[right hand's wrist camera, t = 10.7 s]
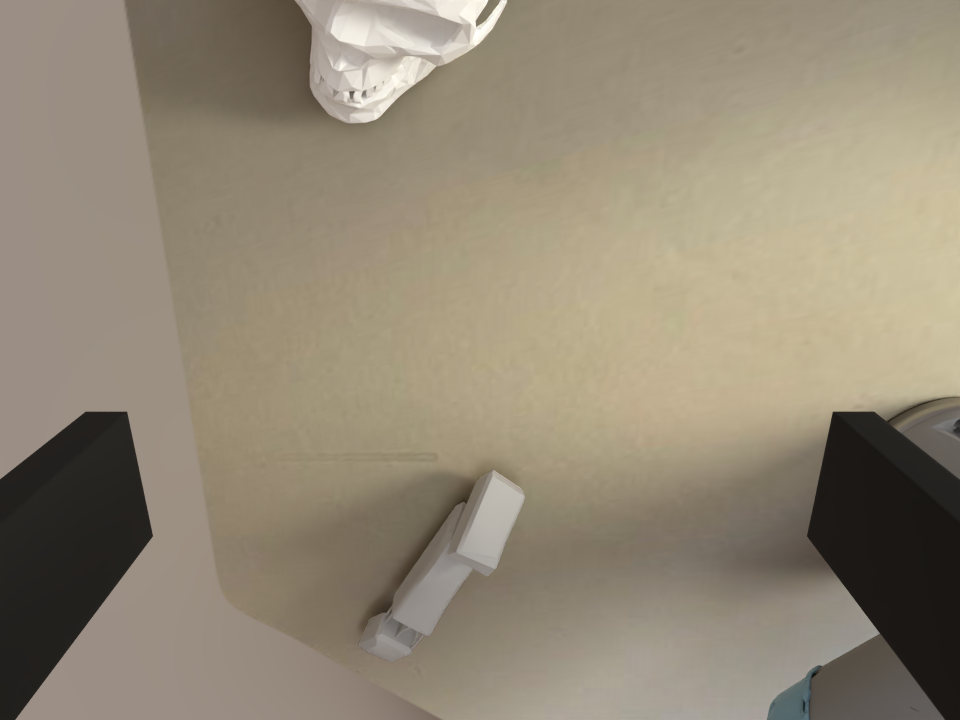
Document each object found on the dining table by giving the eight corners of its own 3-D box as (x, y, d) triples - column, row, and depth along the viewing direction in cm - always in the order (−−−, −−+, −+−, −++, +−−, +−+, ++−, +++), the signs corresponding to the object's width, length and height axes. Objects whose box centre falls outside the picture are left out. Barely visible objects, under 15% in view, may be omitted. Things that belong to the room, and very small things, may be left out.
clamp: (489, 459, 52) (484, 515, 46) (528, 482, 53) (529, 541, 47) (364, 612, 60) (345, 678, 54) (400, 631, 60) (386, 698, 54)
